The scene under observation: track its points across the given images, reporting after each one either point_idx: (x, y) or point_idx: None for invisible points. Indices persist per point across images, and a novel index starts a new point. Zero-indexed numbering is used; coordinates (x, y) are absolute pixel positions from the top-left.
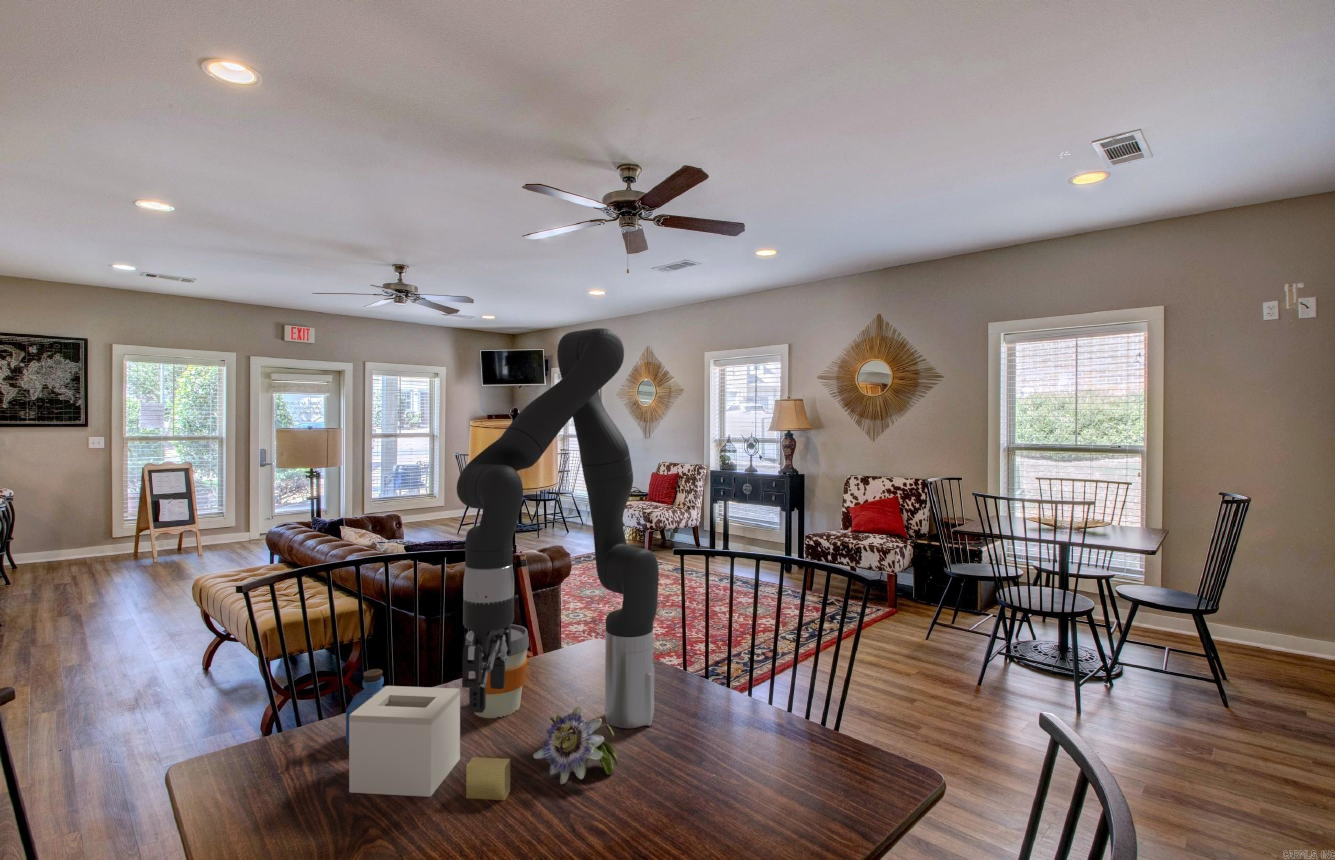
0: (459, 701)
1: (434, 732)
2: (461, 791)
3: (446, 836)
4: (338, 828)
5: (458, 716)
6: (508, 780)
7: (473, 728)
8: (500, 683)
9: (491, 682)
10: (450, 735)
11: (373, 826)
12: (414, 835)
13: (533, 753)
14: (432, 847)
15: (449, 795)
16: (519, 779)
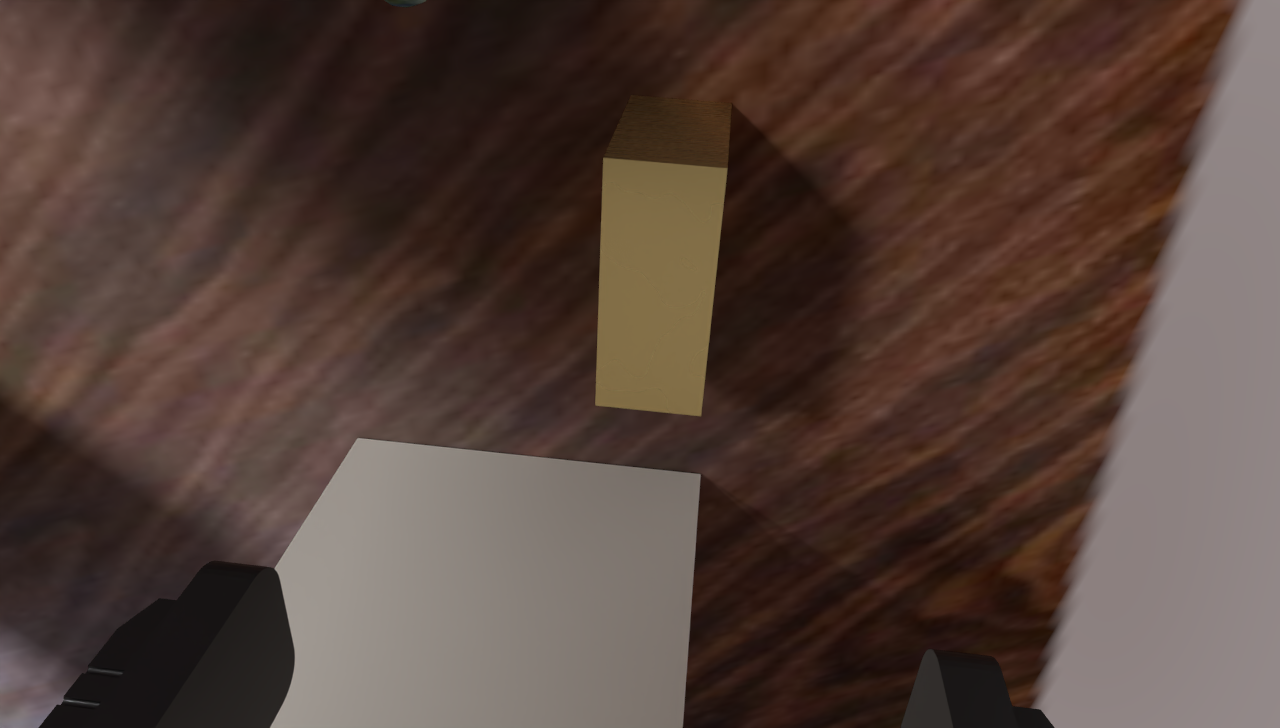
0: None
1: (625, 720)
2: None
3: (1044, 321)
4: None
5: None
6: (656, 119)
7: (55, 449)
8: (245, 636)
9: (263, 726)
10: (416, 583)
11: (912, 610)
12: (1007, 454)
13: (392, 5)
14: (1123, 358)
15: None
16: (506, 64)
